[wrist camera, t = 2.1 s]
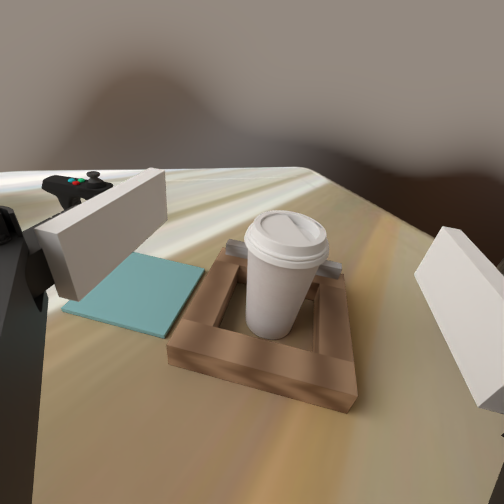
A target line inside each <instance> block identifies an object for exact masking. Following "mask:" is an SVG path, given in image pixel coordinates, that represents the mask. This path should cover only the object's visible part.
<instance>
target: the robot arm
mask: <svg viewBox="0 0 504 504" xmlns="http://www.w3.org/2000/svg"><path fill="white" fill-rule="evenodd" d="M166 221H167V201H166V182H165V170H160V169H155V168H149V169H147V170H145V171H143V172H141V173H139V174H137V175H135V176H133V177H131V178H129V179H128V180H126V181H124V182H122V183H120V184H118V185H116V186H114V187H112V188H110V189H108V190H106V191H105V192H103V193H101V194H99V195H97V196H95V197H93V198H91V199H89V200H87V201H85V202H83V203H81V204H78V205H75V206H72V207H70V208H68V209H66V210H64V211H62V212H61V213H58V214H56V215H54V216H52V218H48V219H46V220H44V221H42V222H40V223H38V224H36V225H35V226H33V227H31V228H29V229H27V230H25V231H23V232H22V231H21V228H20V226H19V223H18V221H17V218H16V216H15V213H14V211H13V209H11V208H9V207H5V206H0V504H32V493H33V481H34V469H35V456H36V444H37V432H38V420H39V407H40V395H41V383H42V371H43V358H44V346H45V334H46V322H47V309H48V296H47V293H46V290H47V289H48V288H50V287H51V286H52V285H53V284H55V287H56V290H57V293H58V295H59V297H62V298H66V299H69V300H73V301H77V302H79V301H80V300H82V299H83V298H84V297H85V296H86V295H87V294H88V293H89V292H90V291H91V290H92V289H93V288H95V287H96V286H97V285H98V284H99V283H100V282H101V281H102V280H103V279H104V278H105V277H106V276H108V275H109V274H110V273H111V272H112V271H113V270H114V269H115V268H116V267H117V266H118V265H119V264H121V263H122V262H123V261H124V260H125V259H126V258H127V257H128V256H129V255H130V254H131V253H132V252H133V251H135V250H136V249H137V248H138V247H139V246H140V245H141V244H142V243H143V242H144V241H145V240H146V239H148V238H149V237H150V236H151V235H152V234H153V233H154V232H155V231H156V230H157V229H158V228H159V227H161V226H162V225H163V224H164V223H165V222H166ZM414 276H415V278H416V280H417V282H418V284H419V286H420V288H421V290H422V292H423V295H424V297H425V299H426V301H427V303H428V305H429V307H430V309H431V311H432V313H433V315H434V317H435V319H436V322H437V324H438V326H439V328H440V330H441V332H442V334H443V336H444V338H445V340H446V342H447V344H448V347H449V349H450V351H451V353H452V355H453V357H454V359H455V361H456V363H457V365H458V367H459V369H460V371H461V374H462V376H463V378H464V380H465V382H466V384H467V386H468V388H469V390H470V392H471V394H472V396H473V398H474V401H475V403H476V405H477V407H479V408H482V409H486V410H490V411H494V412H498V413H501V414H504V259H503V260H502V261H501V262H500V264H499V265H498V266H497V267H495V266H494V265H493V264H492V263H491V262H490V261H489V260H488V259H487V258H486V257H485V256H484V254H482V252H481V251H480V250H479V249H478V248H477V247H476V246H475V245H474V244H473V243H472V242H471V241H470V240H469V239H468V237H467V236H466V235H465V234H464V233H463V232H462V231H461V230H459V229H454V228H449V227H444V226H442V228H441V230H440V231H439V233H438V235H437V236H436V238H435V240H434V241H433V243H432V245H431V246H430V248H429V250H428V252H427V253H426V255H425V257H424V258H423V260H422V262H421V263H420V265H419V267H418V268H417V270H416V272H415V273H414ZM501 436H503V437H504V433H503V434H502V435H501ZM488 504H504V463H503V466H502V468H501V471H500V474H499V476H498V479H497V482H496V484H495V487H494V490H493V492H492V495H491V498H490V500H489V503H488Z"/></svg>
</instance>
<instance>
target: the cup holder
mask: <svg viewBox="0 0 504 504" xmlns="http://www.w3.org/2000/svg"><path fill="white" fill-rule="evenodd" d="M247 266H248V248H247V246H246V244H245V242H241V241H237V240H232V239H229V240H228V242H227V243H226V248H224V247H223V248H222V249H221V251H220V253H219V255H218V256H217V258H216V260H215V262H214V263H213V265H212V267H211V268H210V270H209V272H208V274H207V275H206V277H205V279H204V281H203V282H202V284H201V286H200V288H199V289H198V291H197V293H196V294H195V296H194V298H193V300H192V301H191V303H190V305H189V307H188V308H187V310H186V312H185V314H184V315H183V317H182V319H181V320H180V322H179V324H178V326H177V327H176V329H175V331H174V333H173V334H172V336H171V338H170V340H169V341H168V343H167V355H168V364H170V365H173V366H177V367H180V368H184V369H188V370H191V371H195V372H198V373H202V374H206V375H209V376H213V377H216V378H220V379H224V380H227V381H231V382H234V383H238V384H242V385H245V386H249V387H252V388H256V389H260V390H263V391H267V392H270V393H274V394H278V395H281V396H285V397H288V398H292V399H296V400H299V401H303V402H306V403H310V404H314V405H317V406H321V407H324V408H328V409H332V410H335V411H339V412H342V413H346V414H347V412H348V411H349V409H350V408H351V406H352V405H353V403H354V402H355V400H356V399H357V397H358V392H357V383H356V375H355V366H354V358H353V349H352V340H351V332H350V323H349V315H348V306H347V298H346V289H345V280H344V274H341V271H342V265H341V263H337V262H333V261H328V260H326V261H325V262H324V263H322V264H320V265H319V268H318V270H317V272H316V274H315V276H314V278H313V281H312V283H311V285H310V287H309V290H308V292H307V294H306V296H305V299H309V300H313V301H314V315H313V347H312V352H311V351H307V350H303V349H299V348H295V347H291V346H287V345H283V344H279V343H276V342H272V341H268V340H264V339H260V338H256V337H252V336H248V335H244V334H241V333H237V332H233V331H229V330H225V329H221V328H219V326H220V323H221V321H222V318H223V316H224V313H225V311H226V309H227V306H228V304H229V301H230V299H231V296H232V294H233V291H234V289H235V286H236V284H237V283H241V284H246V285H247Z"/></svg>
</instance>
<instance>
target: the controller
mask: <svg viewBox="0 0 504 504" xmlns="http://www.w3.org/2000/svg"><path fill="white" fill-rule="evenodd" d="M87 176H88V177H90V179H89V180H85V179H83V178H80V179H78V178H71V177H65V176H58V175H54V176H50V177H48V178H46V179H44V180H43V183H42V189H43V190H45V191H47V192H49V193H51V194H53V195H55V196H57V198H58V200H59V202H60V204H61V206H62V207H63V209H64V210H66V209H68V208H70V207H72V206H75V205H78V204H81V200H80V198H84V199H86V200H89V199H91V198H93V197H95V196H97V195H99V194H101V193H103V192H105V191H106V190H108V189H110V188H112V187H113V184H111V183H108V182H104V181H103V180H101V179H99V178H97V177H98V176H100V173H99V172H96V171H91V172H87Z"/></svg>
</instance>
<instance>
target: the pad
mask: <svg viewBox="0 0 504 504" xmlns="http://www.w3.org/2000/svg"><path fill="white" fill-rule="evenodd" d="M204 272H205V269H204V268H200V267H195V266H191V265H187V264H183V263H178V262H174V261H170V260H165V259H161V258H157V257H153V256H148V255H144V254H140V253H135V252H132V253H131V254H130V255H129V256H128V257H127V258H126V259H125V260H124V261H123V262H122V263H121V264H119V265H118V266H117V267H116V268H115V269H114V270H113V271H112V272H111V273H110V274H109V275H108V276H106V277H105V278H104V279H103V280H102V281H101V282H100V283H99V284H98V285H97V286H96V287H95V288H93V289H92V290H91V291H90V292H89V293H88V294H87V295H86V296H85V297H84V298H83V299H82V300H80V301H79V302H77V301H73V300H70V301H68V302H67V303H66V304H65V305H64V306H63V307H62V308H61V309H62V311H63V312H66V313H70V314H74V315H78V316H81V317H85V318H89V319H93V320H96V321H100V322H104V323H108V324H111V325H115V326H119V327H123V328H126V329H130V330H134V331H138V332H141V333H145V334H149V335H153V336H156V337H160V338H165V337H166V335H167V333H168V332H169V330H170V328H171V327H172V325H173V323H174V322H175V320H176V318H177V317H178V315H179V313H180V312H181V310H182V308H183V307H184V305H185V303H186V302H187V300H188V298H189V297H190V295H191V293H192V292H193V290H194V288H195V287H196V285H197V283H198V282H199V280H200V278H201V277H202V275H203V273H204Z"/></svg>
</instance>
